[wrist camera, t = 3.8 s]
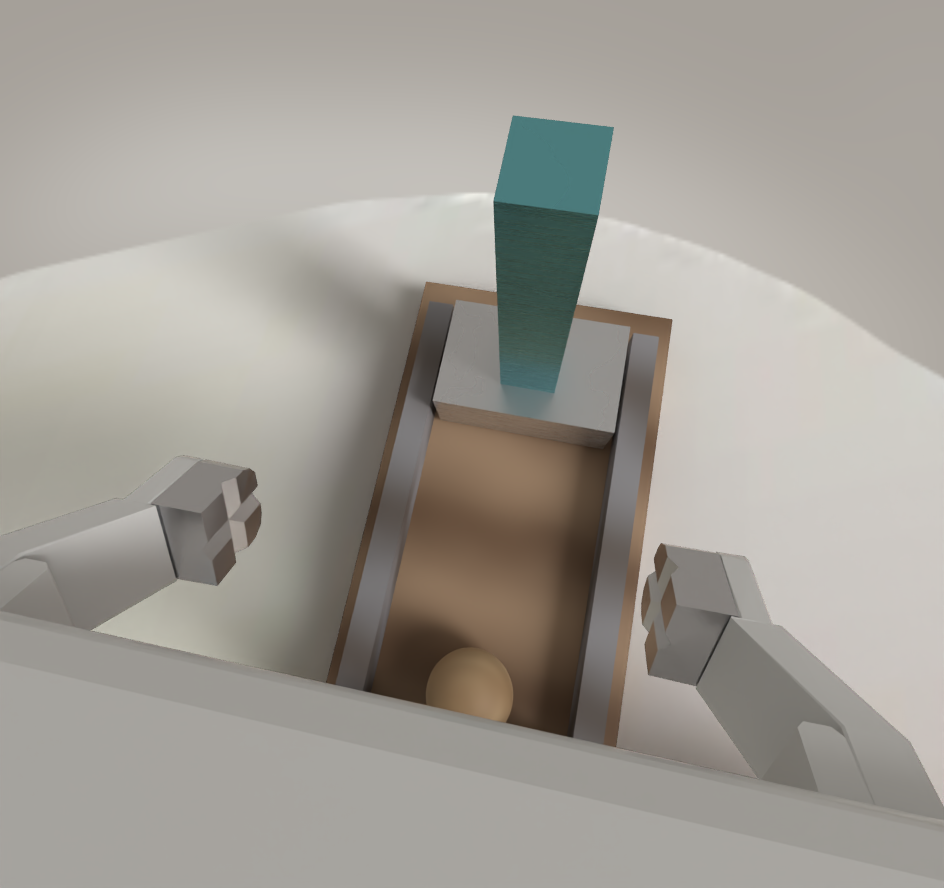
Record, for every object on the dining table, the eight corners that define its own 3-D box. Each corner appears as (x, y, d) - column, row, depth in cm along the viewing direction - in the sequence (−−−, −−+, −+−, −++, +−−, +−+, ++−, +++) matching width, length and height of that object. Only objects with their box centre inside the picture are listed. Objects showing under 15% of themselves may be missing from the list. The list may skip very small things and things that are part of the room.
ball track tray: (588, 874, 24) (620, 990, 17) (309, 799, 25) (236, 879, 19) (661, 336, 30) (707, 264, 23) (431, 300, 31) (410, 222, 24)
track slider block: (602, 449, 26) (720, 285, 12) (440, 419, 27) (362, 233, 13) (617, 354, 27) (742, 95, 13) (461, 328, 28) (412, 60, 14)
